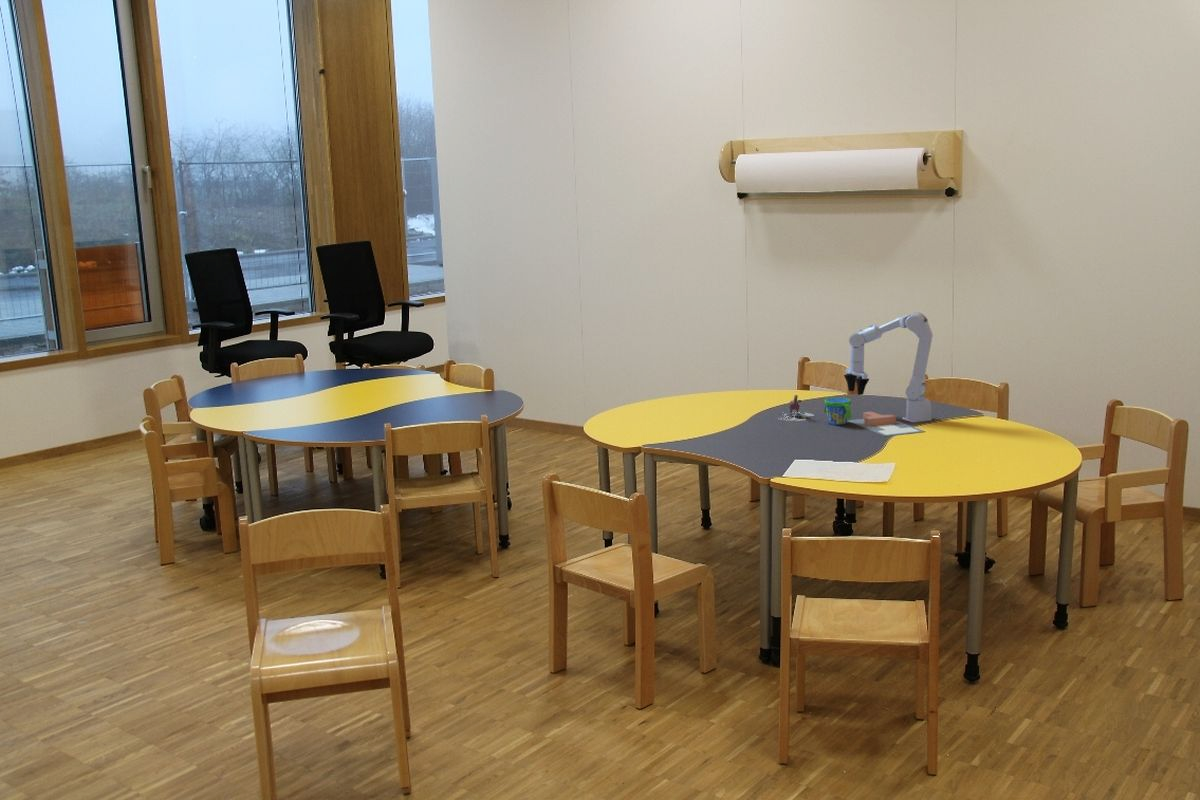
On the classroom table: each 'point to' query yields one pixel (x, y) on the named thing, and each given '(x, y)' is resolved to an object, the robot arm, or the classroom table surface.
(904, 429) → the t board
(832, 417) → the snack cup
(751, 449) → the classroom table surface
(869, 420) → the t block
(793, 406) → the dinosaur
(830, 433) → the classroom table surface
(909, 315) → the robot arm
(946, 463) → the classroom table surface
